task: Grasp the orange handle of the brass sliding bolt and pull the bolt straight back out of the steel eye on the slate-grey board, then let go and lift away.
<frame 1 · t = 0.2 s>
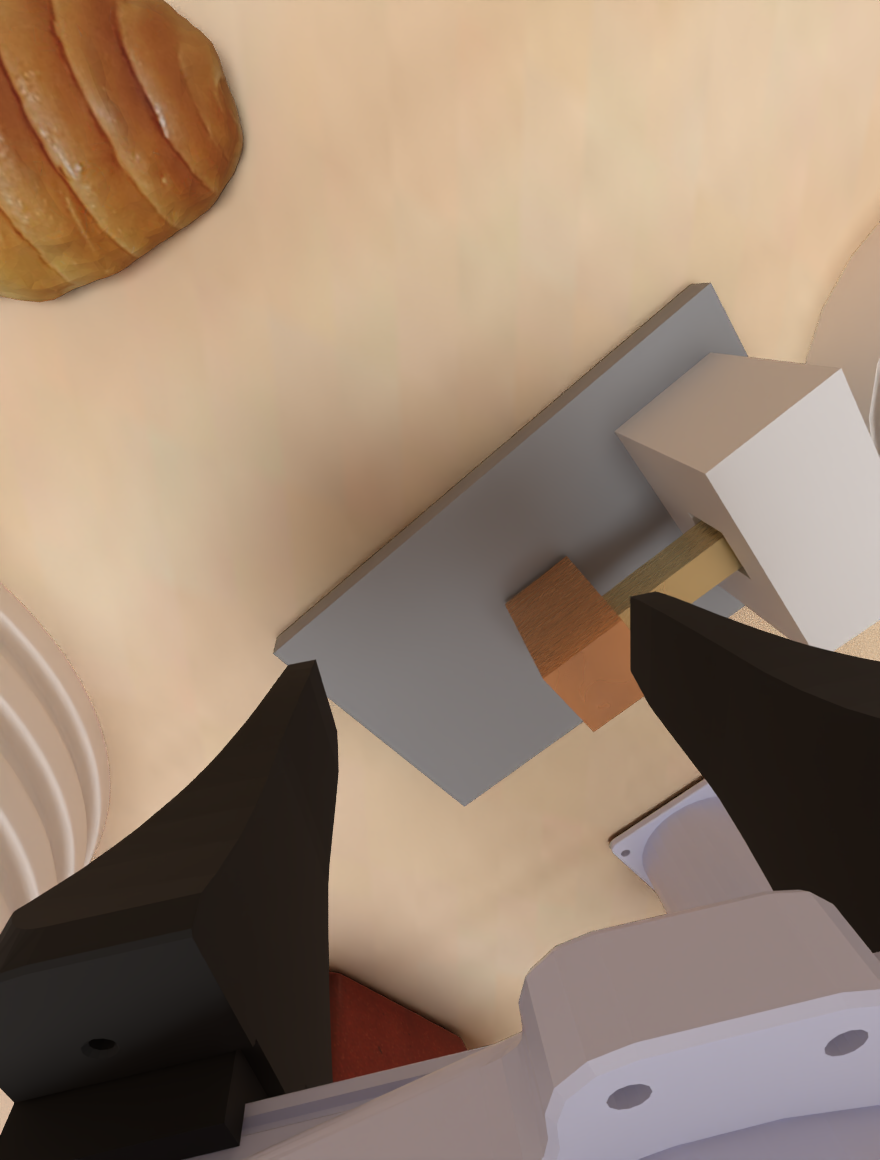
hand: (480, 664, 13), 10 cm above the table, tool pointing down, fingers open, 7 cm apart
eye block: (593, 550, 23), on the table
pastry: (52, 148, 16), on the table
plant pot: (326, 1045, 36), on the table
brass sliding bolt: (685, 558, 19), point 4 cm above the table, slide at 0.0 cm
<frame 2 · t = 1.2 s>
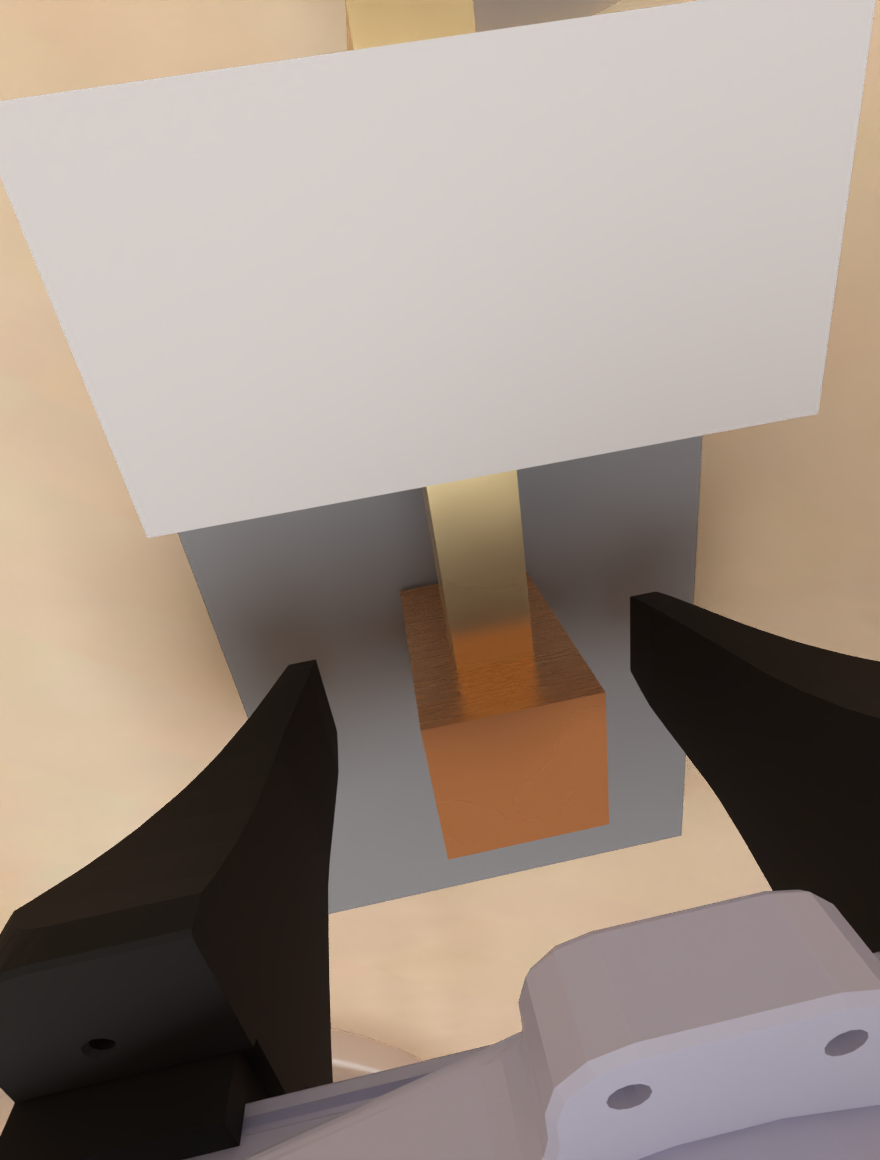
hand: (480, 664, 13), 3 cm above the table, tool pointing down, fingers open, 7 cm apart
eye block: (447, 519, 14), on the table
brass sliding bolt: (462, 486, 10), point 4 cm above the table, slide at 0.0 cm
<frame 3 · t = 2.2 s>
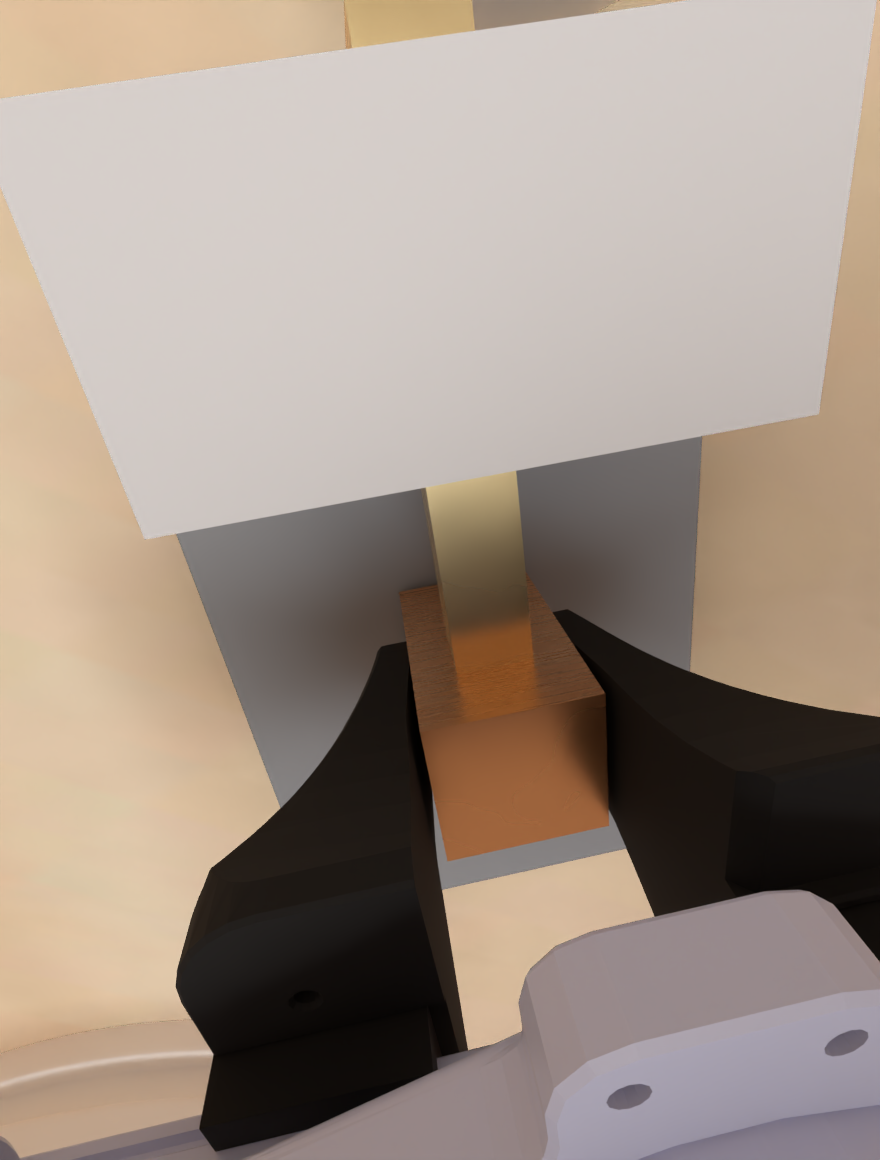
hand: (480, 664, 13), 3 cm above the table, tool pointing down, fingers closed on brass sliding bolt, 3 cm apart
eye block: (446, 519, 14), on the table
brass sliding bolt: (462, 486, 10), point 4 cm above the table, slide at 0.0 cm, touching gripper
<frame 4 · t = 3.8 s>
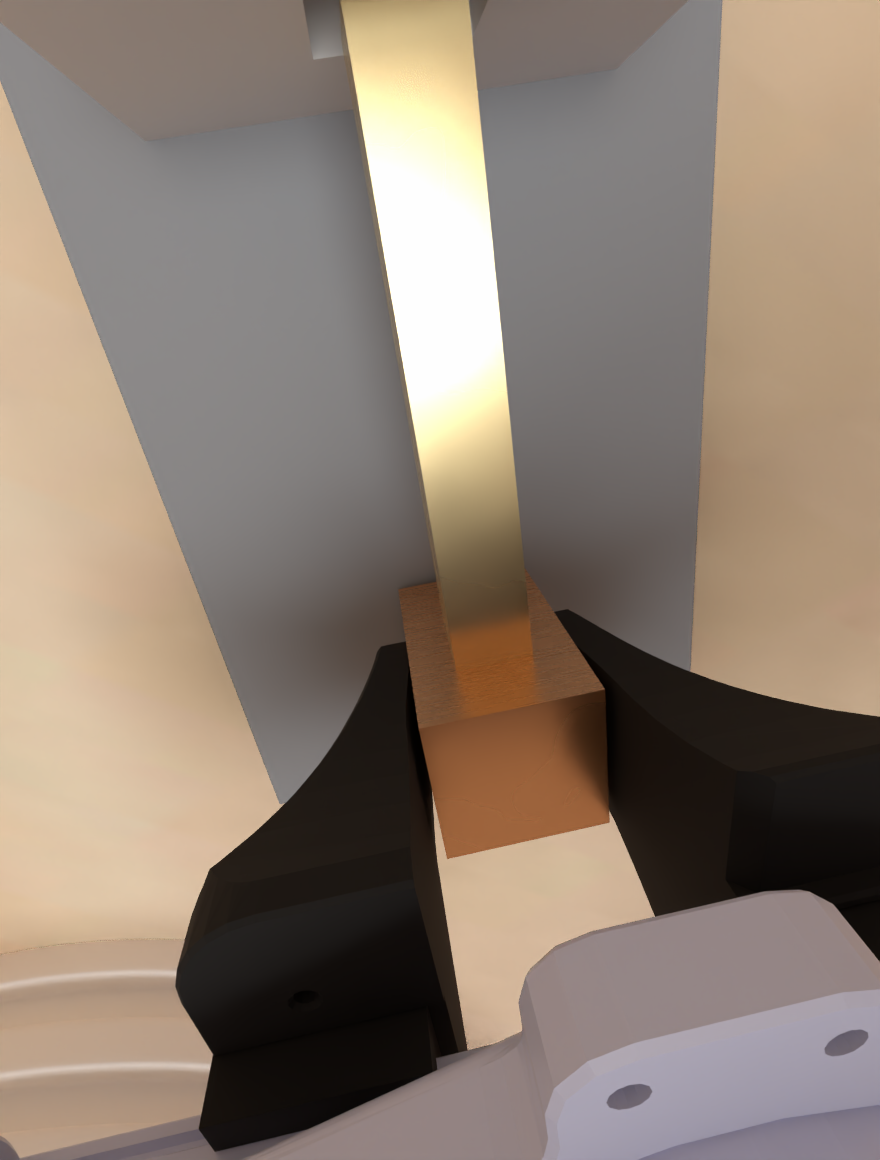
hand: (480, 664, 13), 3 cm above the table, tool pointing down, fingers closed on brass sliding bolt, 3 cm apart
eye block: (410, 298, 12), on the table
brass sliding bolt: (460, 482, 10), point 4 cm above the table, slide at 5.0 cm, touching gripper
plate stack: (154, 1135, 25), on the table
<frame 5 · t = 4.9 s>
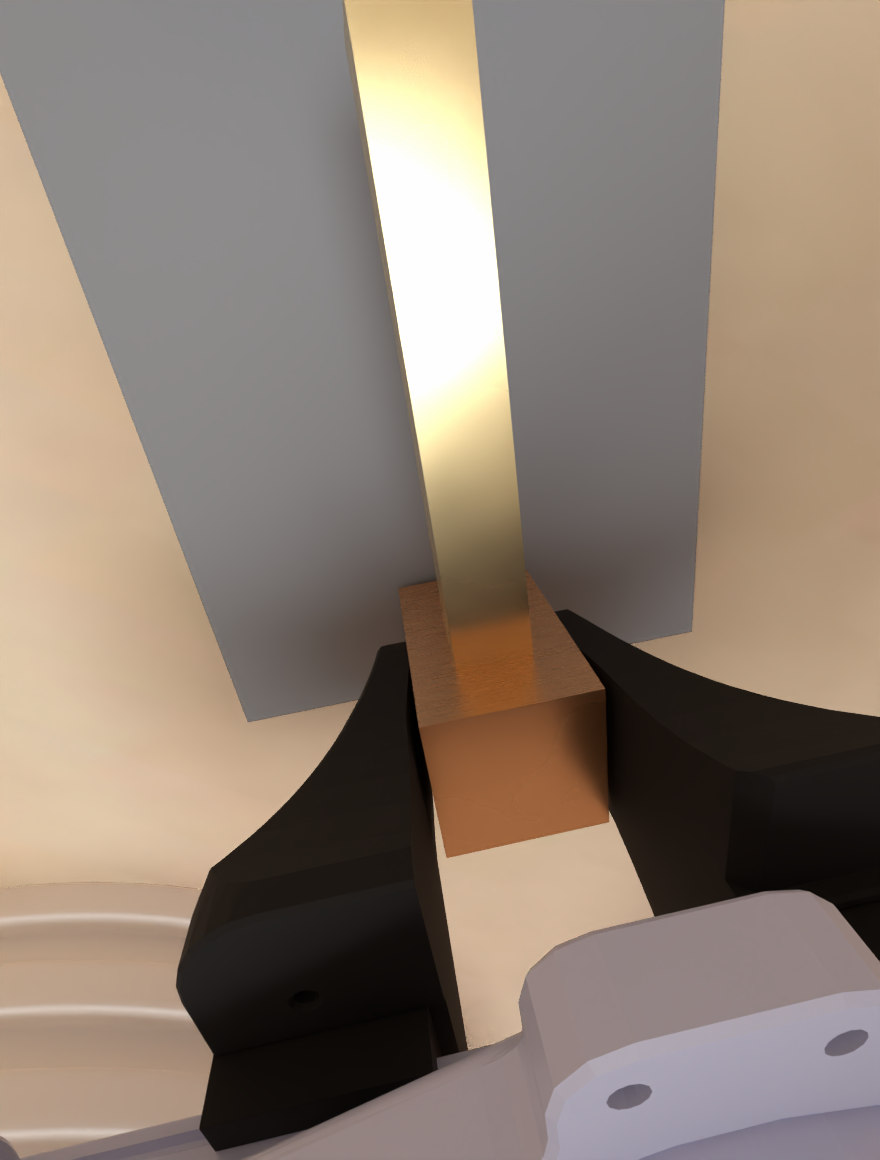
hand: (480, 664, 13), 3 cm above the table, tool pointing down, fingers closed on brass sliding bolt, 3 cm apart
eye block: (385, 128, 11), on the table
brass sliding bolt: (461, 481, 10), point 4 cm above the table, slide at 7.9 cm, touching gripper
plate stack: (124, 1104, 24), on the table
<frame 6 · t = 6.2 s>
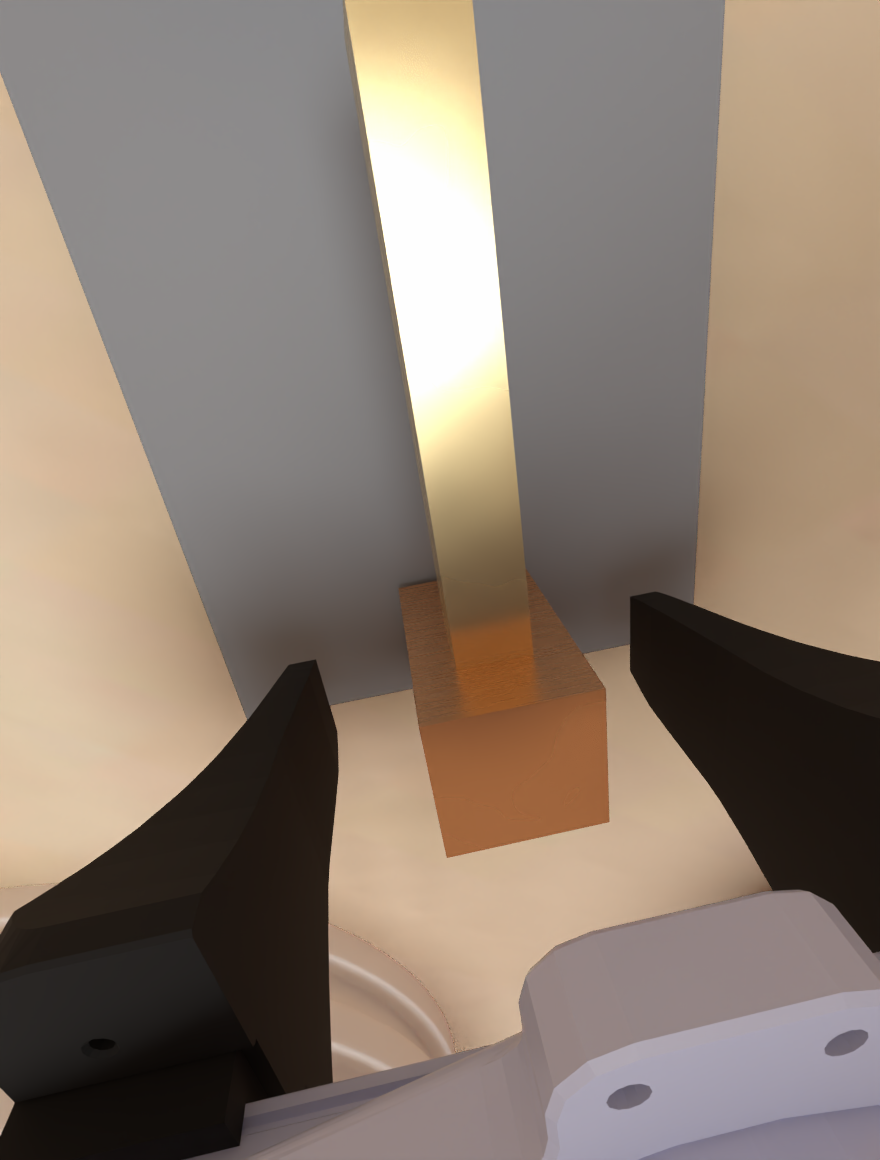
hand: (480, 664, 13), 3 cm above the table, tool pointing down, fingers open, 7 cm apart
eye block: (386, 128, 11), on the table
brass sliding bolt: (461, 481, 10), point 4 cm above the table, slide at 7.9 cm
plate stack: (124, 1104, 24), on the table
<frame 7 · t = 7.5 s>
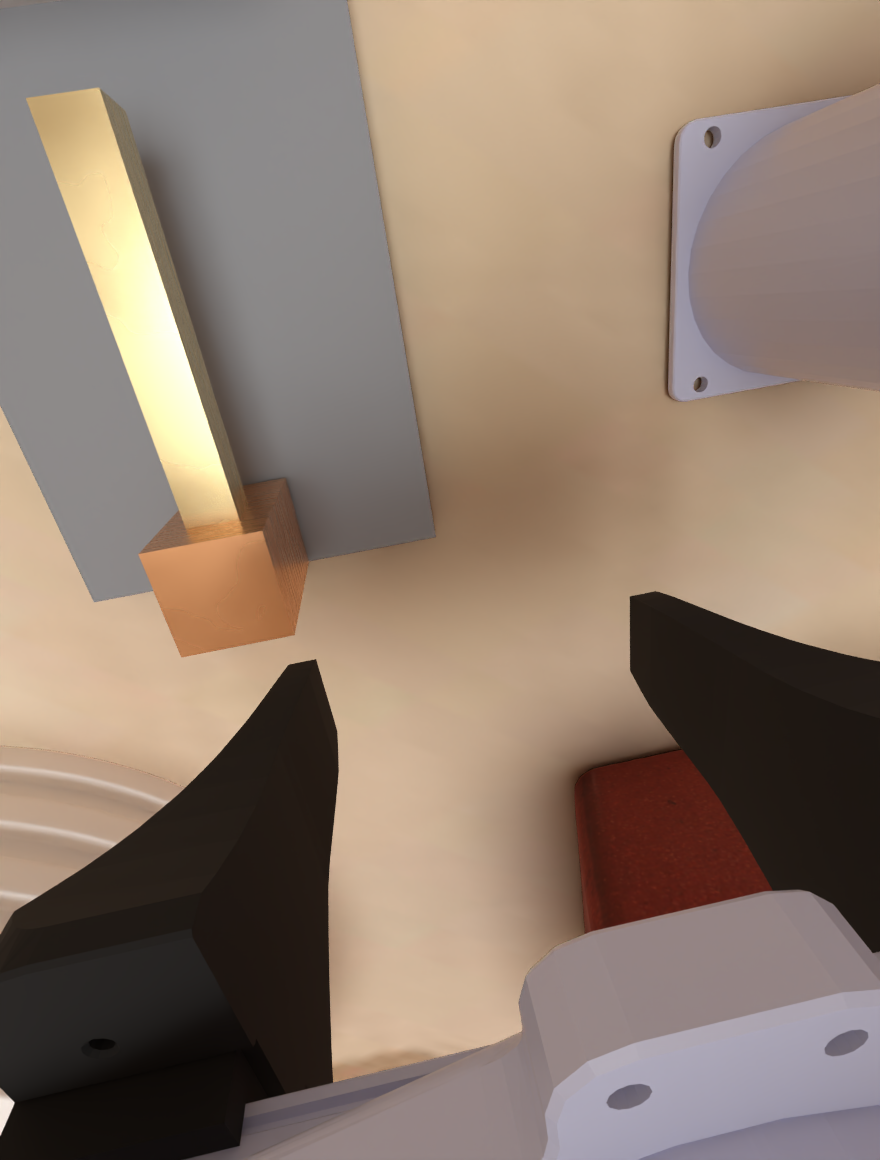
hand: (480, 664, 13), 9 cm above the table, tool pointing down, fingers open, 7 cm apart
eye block: (151, 163, 16), on the table
plant pot: (687, 829, 31), on the table
brass sliding bolt: (185, 401, 15), point 4 cm above the table, slide at 7.9 cm
plate stack: (40, 957, 29), on the table
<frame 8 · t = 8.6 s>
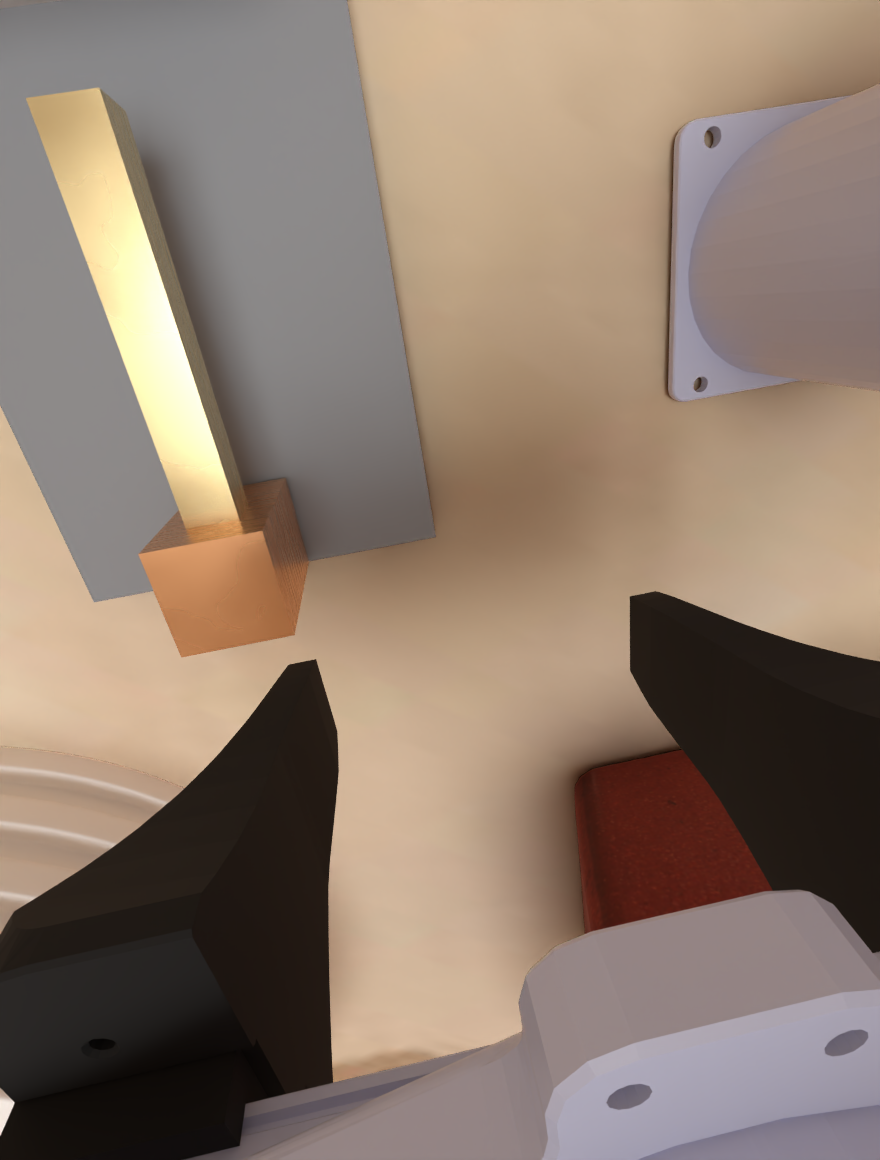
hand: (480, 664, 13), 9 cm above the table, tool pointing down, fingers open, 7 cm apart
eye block: (151, 163, 16), on the table
plant pot: (687, 829, 31), on the table
brass sliding bolt: (185, 401, 15), point 4 cm above the table, slide at 7.9 cm
plate stack: (39, 958, 29), on the table
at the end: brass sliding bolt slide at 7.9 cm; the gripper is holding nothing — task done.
